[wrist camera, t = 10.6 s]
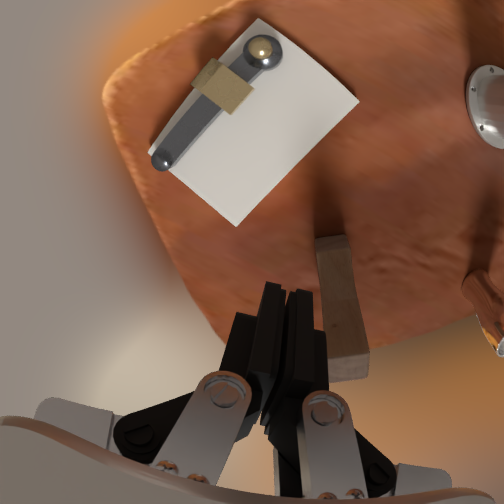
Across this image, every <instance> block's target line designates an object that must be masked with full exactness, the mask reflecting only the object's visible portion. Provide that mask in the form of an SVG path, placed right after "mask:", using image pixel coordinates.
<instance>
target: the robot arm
mask: <svg viewBox="0 0 504 504" xmlns="http://www.w3.org/2000/svg"><path fill="white" fill-rule="evenodd" d="M466 104H467V110H468V113H469V117H470V119H471V122H472V124H473V126H474V128H475V130H476V131H477V133H478V134H479V135H480V137H481V138H482V139H483V140H484V141H485V142H486V143H488V144H490V145H491V146H494V147H497V148H501V149H504V70H503V69H501V68H499V67H497V66H494V65H484V66H480V67H478V68H477V69H475V70H474V71H473V72H472V74H471V76H470V77H469V80H468V83H467V88H466ZM285 299H286V290H284V289H281V285H280V284H276V283H272V282H267V281H266V284H265V288H264V291H263V295H262V299H261V303H260V306H259V310H258V314H257V317H256V316H252V315H248V314H244V313H239V312H236V315H235V319H234V322H233V325H232V329H231V332H230V335H229V338H228V342H227V345H226V348H225V352H224V355H223V358H222V362H221V365H220V368H219V371H216V372H211V373H209V374H208V375H206V376H204V378H203V379H202V380H201V381H200V382H199V384H198V386H197V388H196V390H195V391H193V392H191V393H188V394H186V395H183V396H180V397H177V398H175V399H172V400H169V401H166V402H164V403H161V404H158V405H155V406H152V407H149V408H146V409H143V410H140V411H137V412H134V413H130V414H128V415H126V416H120V415H115V414H113V412H112V411H108V410H103V409H98V408H94V407H90V406H86V405H82V404H78V403H75V402H71V401H67V400H64V399H60V398H54V397H51V398H48V399H45V400H44V401H42V402H41V403H40V405H39V406H38V408H37V411H36V413H35V416H34V419H32V418H27V417H21V416H2V417H0V504H496V502H495V500H494V499H493V498H492V497H491V496H490V495H489V494H487V493H485V492H483V491H480V490H477V489H473V488H462V487H461V488H460V487H459V488H452V481H451V477H450V475H449V474H448V473H447V472H446V471H444V470H442V469H435V468H428V467H421V466H414V465H407V464H402V463H399V464H398V465H394V464H393V463H392V462H391V461H390V460H389V459H388V458H387V457H386V456H384V455H383V454H382V453H381V452H380V451H379V450H378V449H376V448H375V447H374V446H373V445H372V444H371V443H370V442H368V440H367V439H365V438H364V437H363V436H362V435H361V434H360V433H359V432H358V431H357V430H356V429H355V428H354V426H353V422H352V417H351V413H350V409H349V407H348V404H347V403H346V401H345V400H344V399H343V398H342V397H341V396H339V395H338V394H336V393H334V392H331V391H329V376H328V356H327V340H326V333H325V331H320V330H315V329H314V317H313V293H312V292H310V291H306V290H302V289H297V290H296V292H292V291H290V293H289V296H288V299H287V302H286V305H285ZM261 411H262V413H261ZM260 413H261V419H260V425H262V426H265V431H264V434H266V435H268V440H269V441H270V442H271V443H272V445H273V446H274V449H273V458H274V459H273V460H274V485H275V496H271V495H264V494H256V493H250V492H244V491H238V490H233V489H228V488H223V487H219V486H216V484H217V481H218V479H219V477H220V474H221V472H222V470H223V468H224V466H225V463H226V461H227V459H228V456H229V454H230V452H231V449H232V447H233V444H234V443H235V442H237V441H239V440H241V439H242V438H244V437H246V436H248V434H249V432H250V431H251V428H252V426H253V424H256V422H257V420H258V418H259V416H260Z"/></svg>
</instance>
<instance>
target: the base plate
mask: <svg viewBox="0 0 504 504" xmlns="http://www.w3.org/2000/svg"><path fill="white" fill-rule="evenodd" d="M262 34H263V35H269V36H272V37H274V38H275V39H277V40H278V41H279V43H280V44H281V47H282V51H283V59H282V61H281V63H280V65H279V66H278V67H276V68H275V69H273V70H270V71H264V72H263V73H262V74H260V75H259V76H258V77H257V78H256V79H255V80H254V81H253V82H252V83H251V84H250V85H251V86H252V87H254V88H255V90H254V91H253V92H252V93H251V94H250V95H249V96H248V98H247V99H246V100H245V101H244V102H243V103H242V104H241V105H240V107H239V108H238V109H237V110H236V111H235V112H234V113H233V115H229V114H228V113H227V112H226V111H223V112H222V113H221V114H220V115H219V116H218V117H217V119H216V120H215V121H214V122H213V123H212V124H211V125H210V126H209V127H208V128H207V129H206V131H205V132H204V133H203V134H202V135H201V136H200V137H199V138H198V139H197V141H196V142H195V143H194V144H193V145H192V146H191V147H190V149H189V150H188V151H187V152H186V153H185V154H184V156H183V157H182V158H181V159H180V160H179V162H178V163H177V164H176V165H175V166H174V167H172V168H170V169H168V170H169V171H170V172H171V173H173V174H174V175H175V176H176V177H177V178H179V179H180V180H181V181H182V182H183V183H185V184H186V185H187V186H188V187H189V188H190V189H192V190H193V191H194V192H195V193H196V194H198V195H199V196H200V197H201V198H202V199H204V200H205V201H206V202H207V203H208V204H209V205H211V206H212V207H213V208H214V209H215V210H217V211H218V212H219V213H220V214H221V215H222V216H224V217H225V218H226V219H227V220H228V221H230V222H231V223H232V224H233V225H234V226H235V227H236V226H237V225H238V224H239V223H240V222H241V221H242V220H243V219H244V218H245V217H246V216H247V215H248V214H249V213H250V212H251V211H252V210H253V208H254V207H255V206H256V205H257V204H258V203H259V202H260V201H261V200H262V199H263V198H264V197H265V196H266V195H267V194H268V193H269V192H270V191H271V190H272V189H273V188H274V187H275V186H276V185H277V184H278V183H279V181H280V180H281V179H282V178H283V177H284V176H285V175H286V174H287V173H288V172H289V171H290V170H291V169H292V168H293V167H294V166H295V165H296V164H297V163H298V162H299V161H300V160H301V159H302V158H303V157H304V156H305V155H306V154H307V153H308V152H309V151H310V150H311V149H312V148H313V147H314V146H315V145H316V144H317V143H318V142H319V141H320V140H321V139H322V138H323V137H324V136H325V135H326V134H327V133H328V132H329V131H330V130H331V129H332V128H333V127H334V126H335V125H336V124H337V123H338V122H339V121H340V120H341V119H342V118H343V117H344V116H345V115H346V114H347V113H348V112H349V111H350V110H351V109H353V108H354V107H355V106H356V105H357V104H358V103H359V102H360V101H359V100H358V99H357V98H356V97H355V96H354V95H352V94H351V93H350V92H349V91H348V90H347V89H346V88H345V87H344V86H343V85H342V84H341V83H340V82H339V81H338V80H337V79H336V78H334V77H333V76H332V75H331V74H330V73H329V72H328V71H327V70H326V69H324V68H323V67H322V66H321V65H320V64H319V63H317V62H316V61H315V60H314V59H313V58H311V57H310V56H309V55H308V54H307V53H305V52H304V51H303V50H302V49H300V48H299V47H298V46H296V45H295V44H294V43H293V42H291V41H290V40H289V39H287V38H286V37H285V36H283V35H282V34H281V33H279V32H278V31H276V30H275V29H274V28H272V27H271V26H269V25H268V24H266V23H265V22H263V21H262V20H260V19H259V18H258V19H257V20H256V21H255V22H254V23H253V24H252V25H251V26H250V27H249V28H248V29H247V30H246V31H245V32H244V33H243V34H242V35H241V36H240V37H239V38H238V39H237V40H236V41H235V42H234V43H233V44H232V45H231V46H230V47H229V48H228V49H227V51H226V52H225V53H224V54H223V55H222V56H221V57H220V58H219V59H218V61H220V62H221V63H223V64H224V65H226V66H227V67H229V66H230V65H231V64H232V63H233V62H234V61H235V60H236V59H237V58H238V57H239V56H240V55H241V54H242V53H243V47H244V45H245V43H246V42H247V41H248V40H249V39H250V38H252V37H253V36H256V35H262ZM202 94H203V93H201V92H200V91H199V90H197V89H196V88H194V89H193V90H192V92H191V93H190V94H189V95H188V97H187V98H186V99H185V101H184V102H183V103H182V104H181V106H180V107H179V108H178V110H177V111H176V112H175V114H174V115H173V116H172V118H171V119H170V121H169V122H168V123H167V125H166V126H165V128H164V129H163V130H162V132H161V133H160V135H159V136H158V138H157V139H156V141H155V142H154V143H153V145H152V146H151V148H150V149H149V151H148V152H147V153H149V154H150V155H151V156H152V154H153V153H154V151H155V150H156V149H157V147H158V146H159V145H160V143H161V142H162V141H163V140H164V138H165V137H166V136H167V135H168V133H169V132H170V131H171V130H172V128H173V127H174V126H175V125H176V124H177V122H178V121H179V120H180V119H181V118H182V116H183V115H184V114H185V113H186V112H187V111H188V109H189V108H190V107H191V106H192V105H193V104H194V103H195V101H196V100H197V99H198V98H199V97H200V96H201V95H202Z"/></svg>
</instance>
